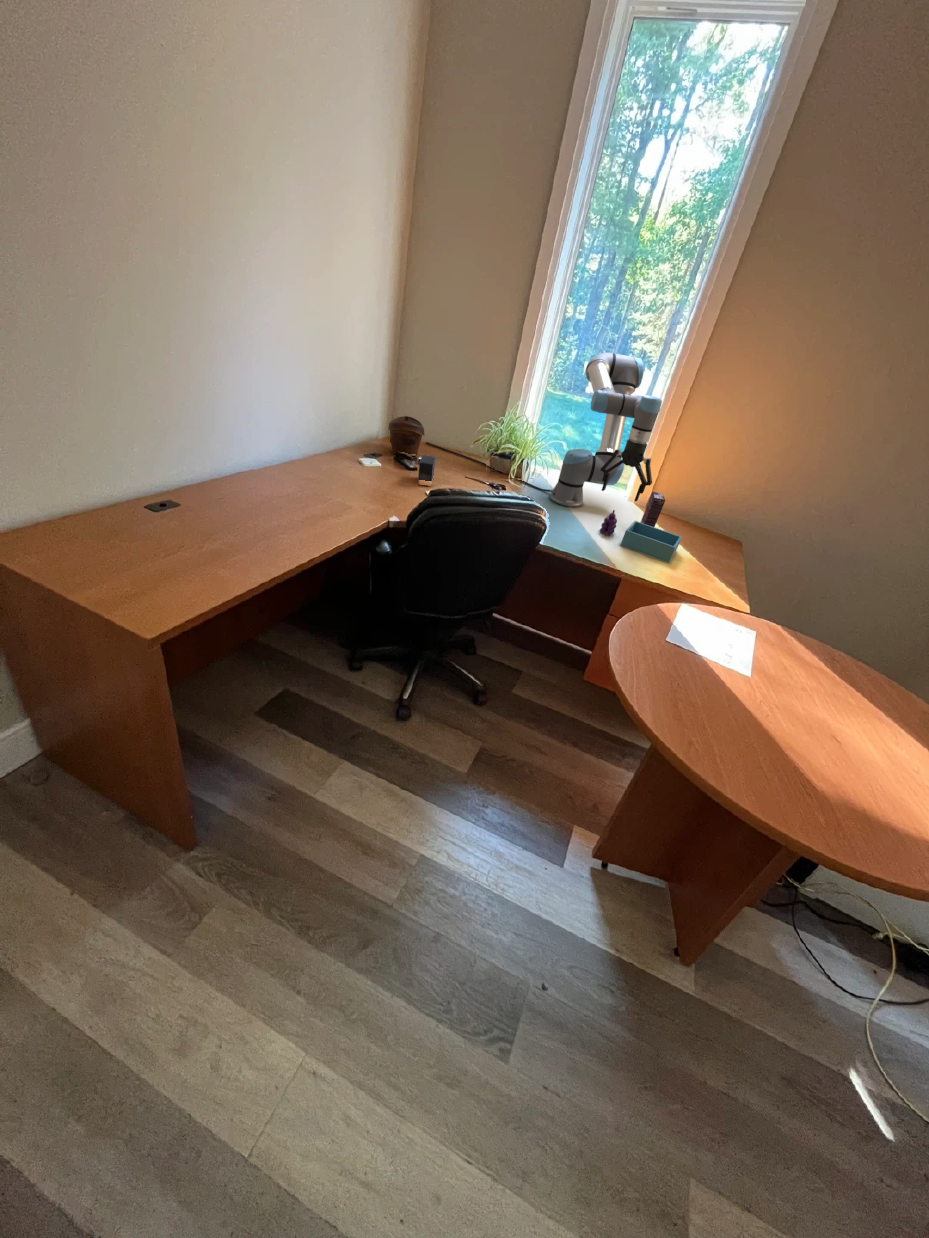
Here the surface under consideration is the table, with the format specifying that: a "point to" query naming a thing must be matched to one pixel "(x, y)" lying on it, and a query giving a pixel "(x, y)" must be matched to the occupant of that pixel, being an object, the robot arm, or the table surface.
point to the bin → (651, 541)
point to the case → (405, 434)
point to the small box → (426, 468)
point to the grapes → (609, 524)
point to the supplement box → (653, 509)
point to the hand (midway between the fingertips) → (619, 495)
